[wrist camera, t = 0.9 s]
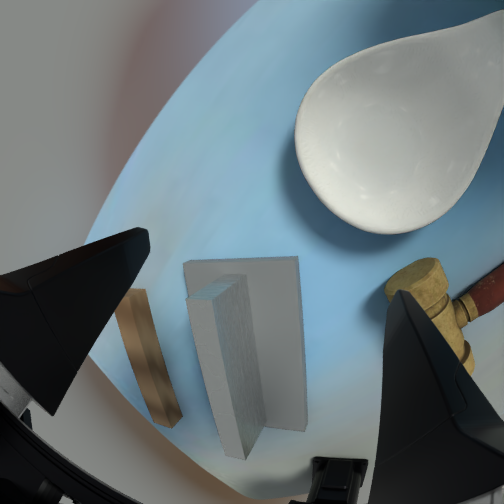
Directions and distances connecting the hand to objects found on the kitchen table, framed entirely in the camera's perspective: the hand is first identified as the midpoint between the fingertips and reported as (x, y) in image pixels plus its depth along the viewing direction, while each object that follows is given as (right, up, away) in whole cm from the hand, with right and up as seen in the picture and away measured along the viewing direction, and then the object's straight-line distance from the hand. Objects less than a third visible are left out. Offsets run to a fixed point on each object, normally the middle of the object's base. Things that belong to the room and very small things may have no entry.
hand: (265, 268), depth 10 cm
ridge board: (0, -9, +17) cm, 19 cm away
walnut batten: (-12, -12, +23) cm, 28 cm away
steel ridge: (-1, -9, +16) cm, 18 cm away
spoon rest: (+13, +12, +7) cm, 19 cm away
